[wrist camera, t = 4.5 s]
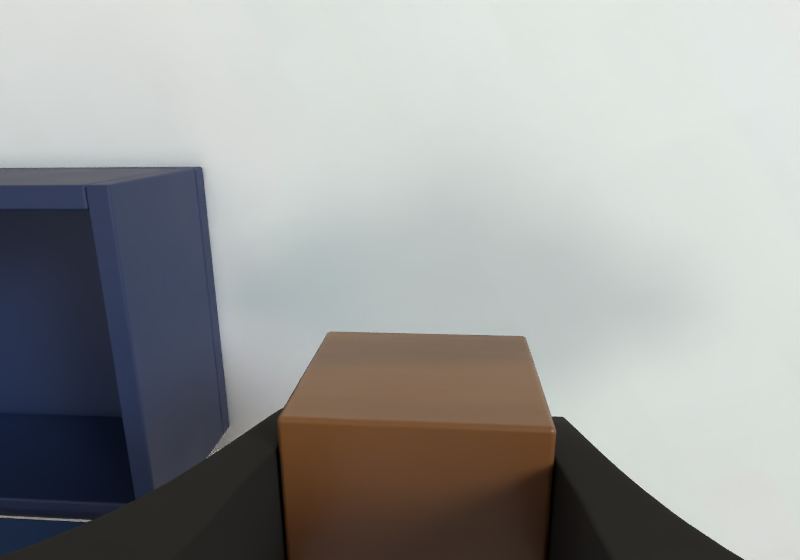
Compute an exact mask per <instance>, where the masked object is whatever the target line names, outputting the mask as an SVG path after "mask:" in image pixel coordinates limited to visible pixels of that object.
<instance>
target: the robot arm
mask: <svg viewBox="0 0 800 560" xmlns="http://www.w3.org/2000/svg"><path fill="white" fill-rule="evenodd" d="M282 410H283V408H282V409H280V410H278V411H277V412H275V413H274V414H272V415H271V416H269V417H268V418H266V419H265V420H263V421H262V422H260V423H259V424H257V425H256V426H255V427H253V428H252V429H250V430H249V431H247V432H246V433H244V434H243V435H241V436H240V437H239V438H237V439H236V440H234V441H233V442H231V443H230V444H228V445H227V446H225V447H224V448H222V449H221V450H219V451H218V452H216V453H215V454H213V455H212V456H210V457H209V458H207V459H205V460H204V461H202V462H200V463H199V464H197V465H195V466H194V467H192V468H191V469H189V470H187V471H186V472H184V473H182V474H181V475H179V476H178V477H176V478H174V479H173V480H171V481H169V482H168V483H166V484H164V485H162V486H160V487H159V488H157V489H155V490H153V491H151V492H149V493H148V494H146V495H144V496H142V497H140V498H138V499H136V500H134V501H132V502H130V503H128V504H126V505H124V506H122V507H120V508H118V509H116V510H114V511H112V512H110V513H107V514H105V515H103V516H101V517H99V518H96V519H94V520H91V521H89V522H87V523H84V524H82V525H80V526H77V527H75V528H72V529H70V530H68V531H65V532H63V533H60V534H58V535H56V536H53V537H51V538H48V539H46V540H44V541H41V542H39V543H36V544H33V545H31V546H28V547H25V548H22V549H20V550H17V551H14V552H11V553H8V554H6V555H3V556H0V560H287V549H286V536H285V522H284V509H283V496H282V482H281V469H280V455H279V442H278V429H277V419H278V417H279V415H280V413H281V412H282ZM552 420H553V423H554V426H555V429H556V442H555V456H554V470H553V484H552V498H551V512H550V526H549V539H548V553H547V560H744V559H742V558H741V557H739V556H737V555H736V554H734V553H732V552H731V551H729V550H727V549H726V548H724V547H723V546H721V545H720V544H718V543H717V542H715V541H714V540H712V539H711V538H709V537H708V536H706V535H705V534H703V533H702V532H700V531H699V530H697V529H696V528H694V527H693V526H691V525H690V524H688V523H687V522H685V521H684V520H683V519H681V518H680V517H678V516H677V515H676V514H674V513H673V512H671V511H670V510H669V509H668V508H666V507H665V506H664V505H662V504H661V503H660V502H659V501H657V500H656V499H655V498H653V497H652V496H651V495H650V494H648V493H647V492H646V491H644V490H643V489H642V488H641V487H640V486H638V485H637V484H636V483H635V482H634V481H632V480H631V479H630V478H629V477H628V476H627V475H625V474H624V473H623V472H622V471H621V470H620V469H618V468H617V467H616V466H615V465H614V464H613V463H612V462H611V461H610V460H608V459H607V458H606V457H605V456H604V455H603V454H602V453H601V452H600V451H599V450H598V449H597V448H595V447H594V446H593V445H592V444H591V443H590V442H589V441H588V440H587V439H586V438H585V437H584V436H583V435H582V434H581V433H580V432H579V431H578V430H577V429H576V428H575V427H573V426H572V425H571V424H570V423H569V422H568V421H567V420H566V419H565V418H564V417H552Z"/></svg>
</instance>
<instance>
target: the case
mask: <svg viewBox="0 0 800 560" xmlns="http://www.w3.org/2000/svg"><path fill="white" fill-rule="evenodd" d="M228 427H229V420H228V410H227V401H226V391H225V382H224V372H223V363H222V353H221V343H220V334H219V324H218V315H217V305H216V296H215V286H214V277H213V267H212V258H211V248H210V238H209V229H208V219H207V210H206V200H205V191H204V181H203V172H202V168H201V167H109V168H0V515H4V516H24V517H43V518H63V519H82V520H94V519H96V518H99V517H101V516H103V515H105V514H107V513H110V512H112V511H114V510H116V509H118V508H120V507H122V506H124V505H126V504H128V503H130V502H132V501H134V500H136V499H138V498H140V497H142V496H144V495H146V494H148V493H149V492H151V491H153V490H155V489H157V488H159V487H160V486H162V485H164V484H166V483H168V482H169V481H171V480H173V479H174V478H176V477H178V476H179V475H181V474H182V473H184V472H186V471H187V470H189V469H191V468H192V467H194V466H195V465H197V464H199V463H200V462H202V461H204V460H205V459H206V458H207V456H208V455H209V454H210V452H211V451H212V450H213V448H214V447H215V445H216V444H217V443H218V441H219V440H220V439H221V437H222V436H223V434H224V433H225V432H226V430H227V429H228Z"/></svg>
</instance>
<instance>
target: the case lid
mask: <svg viewBox="0 0 800 560" xmlns="http://www.w3.org/2000/svg"><path fill="white" fill-rule="evenodd" d="M84 523H87V522H72V521H53V520H33V519H14V518H0V556H3V555H6V554H8V553H11V552H14V551H17V550H20V549H22V548H25V547H28V546H31V545H33V544H36V543H39V542H41V541H44V540H46V539H48V538H51V537H53V536H56V535H58V534H60V533H63V532H65V531H68V530H70V529H72V528H75V527H77V526H80V525H82V524H84Z"/></svg>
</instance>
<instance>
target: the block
mask: <svg viewBox="0 0 800 560" xmlns="http://www.w3.org/2000/svg"><path fill="white" fill-rule="evenodd" d="M277 429H278V442H279V455H280V469H281V482H282V496H283V509H284V522H285V536H286V549H287V560H547V553H548V539H549V526H550V512H551V498H552V484H553V470H554V456H555V442H556V429H555V426H554V423H553V420H552V417H551V414H550V411H549V408H548V404H547V401H546V398H545V395H544V392H543V389H542V386H541V383H540V380H539V377H538V374H537V371H536V368H535V365H534V362H533V359H532V356H531V353H530V350H529V346H528V343H527V340H526V338H525V337H523V336H490V335H448V334H405V333H363V332H329V333H327V335H326V337H325V338H324V340H323V342H322V343H321V345H320V347H319V349H318V350H317V352H316V354H315V355H314V357H313V359H312V360H311V362H310V364H309V366H308V367H307V369H306V371H305V372H304V374H303V376H302V377H301V379H300V381H299V383H298V384H297V386H296V388H295V389H294V391H293V393H292V395H291V396H290V398H289V400H288V401H287V403H286V405H285V406H284V408H283V410H282V412H281V413H280V415H279V417H278V419H277Z"/></svg>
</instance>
